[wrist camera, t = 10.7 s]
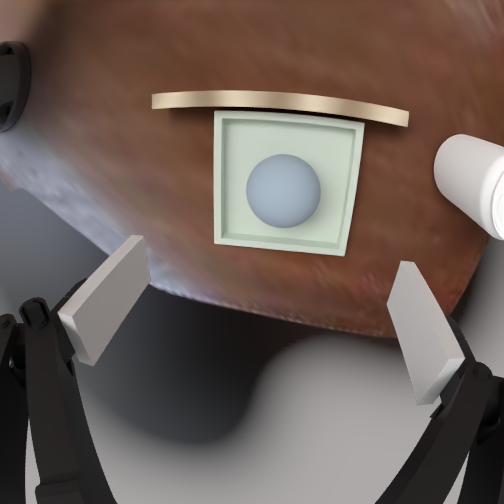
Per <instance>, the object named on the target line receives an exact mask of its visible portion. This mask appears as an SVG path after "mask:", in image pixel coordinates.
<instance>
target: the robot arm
mask: <svg viewBox="0 0 504 504" xmlns="http://www.w3.org/2000/svg"><path fill="white" fill-rule="evenodd" d="M30 75H31V69H30V60H29V55H28V52H27V50H26V48H25V47H24V46H23V45H22V44H21V43H20V42H17V41H5V42H0V132H2V131H5V130H7V129H9V128H10V127H12V126H13V125H14V124H15V122H16V121H17V120H18V118H19V116H20V114H21V112H22V110H23V108H24V105H25V102H26V99H27V96H28V91H29V86H30ZM150 281H151V278H150V272H149V266H148V259H147V252H146V245H145V237H144V236H140V235H131V236H130V237H129V238H128V239H127V240H126V241H125V242H124V243H123V244H122V245H121V246H120V247H119V248H118V249H117V250H116V251H115V252H114V253H113V254H112V255H111V256H110V257H109V258H108V259H107V260H106V261H105V262H104V263H103V264H102V265H101V266H100V267H99V268H98V269H97V270H96V271H95V272H94V273H93V274H92V275H91V276H90V277H89V278H88V279H86V278H85V279H83V280H82V281H80V282H78V283H77V284H75V286H74V287H73V288H72V289H71V290H70V292H68V293H67V294H66V295H65V297H63V298H62V299H61V300H60V302H59V303H58V304H57V305H56V306H55V307H54V308H53V309H52V310H51V312H50V311H49V309H48V306H47V303H46V301H45V300H44V299H43V298H39V297H37V298H32V299H30V300H27V301H26V302H24V303H23V304H22V306H21V307H20V309H19V313H20V315H21V317H22V319H23V322H24V323H23V324H22V323H17V322H16V320H15V317H14V316H13V315H12V314H4V315H1V316H0V504H26V498H25V460H26V441H27V430H28V420H30V427H31V435H32V441H33V447H34V452H35V458H36V463H37V468H38V472H39V476H40V484H39V485H38V486H37V487H36V489H35V495H36V500H37V504H117V502H116V501H115V499H114V497H113V495H112V492H111V490H110V487H109V485H108V483H107V480H106V477H105V475H104V472H103V470H102V467H101V464H100V462H99V458H98V456H97V453H96V450H95V447H94V444H93V440H92V437H91V434H90V431H89V427H88V424H87V420H86V416H85V413H84V409H83V405H82V401H81V397H80V393H79V388H78V383H77V379H76V373H75V368H74V363H73V361H72V359H71V358H72V356H73V355H74V353H76V355H77V357H78V359H79V361H80V362H82V363H85V364H88V365H91V366H94V365H95V363H96V362H97V360H98V358H99V357H100V355H101V354H102V352H103V350H104V349H105V347H106V346H107V344H108V343H109V341H110V339H111V338H112V337H113V335H114V333H115V332H116V330H117V329H118V327H119V326H120V324H121V323H122V321H123V320H124V318H125V317H126V315H127V314H128V312H129V311H130V309H131V308H132V306H133V305H134V303H135V302H136V301H137V299H138V298H139V296H140V295H141V293H142V292H143V290H144V289H145V288H146V286H147V285H148V283H149V282H150ZM387 307H388V310H389V313H390V315H391V318H392V321H393V324H394V327H395V330H396V333H397V336H398V339H399V342H400V346H401V349H402V352H403V355H404V359H405V362H406V365H407V369H408V372H409V376H410V379H411V383H412V386H413V390H414V394H415V398H416V402H417V405H425V404H433V403H434V401H435V400H436V399H437V397H438V396H439V395H440V398H441V401H442V403H441V404H440V405H439V406H438V408H437V409H436V410H435V411H434V412H433V413H432V415H431V416H430V417H431V418H432V419H431V421H430V423H429V425H428V426H427V428H426V430H425V432H424V433H423V435H422V437H421V438H420V440H419V442H418V443H417V445H416V447H415V448H414V450H413V451H412V453H411V455H410V456H409V458H408V459H407V461H406V462H405V464H404V465H403V467H402V468H401V469H400V471H399V472H398V474H397V475H396V477H395V478H394V479H393V481H392V482H391V484H390V485H389V486H388V487H387V489H386V490H385V492H384V493H383V494H382V495H381V496H380V498H379V499H378V500H377V501H376V503H375V504H443V502H444V501H445V499H446V497H447V495H448V494H449V492H450V490H451V488H452V486H453V484H454V482H455V480H456V478H457V476H458V474H459V472H460V470H461V468H462V466H463V463H464V461H465V459H466V457H467V454H468V452H469V456H468V461H467V467H466V471H465V475H464V480H463V484H462V488H461V492H460V495H459V499H458V502H457V504H504V378H502V377H497V376H493V375H492V372H491V370H490V369H489V368H488V367H487V366H486V365H485V364H483V363H481V362H476V360H475V358H474V356H473V354H472V352H471V349H470V347H469V345H468V343H467V341H466V340H465V337H464V335H463V333H461V330H460V328H459V326H458V324H457V323H456V322H455V321H454V320H453V319H452V318H451V317H450V316H444V314H443V312H442V310H441V308H440V306H439V305H438V303H437V301H436V299H435V297H434V296H433V294H432V292H431V290H430V288H429V287H428V285H427V283H426V282H425V280H424V278H423V276H422V275H421V273H420V271H419V270H418V268H417V266H416V265H415V263H414V262H408V261H401V262H400V266H399V269H398V272H397V275H396V278H395V281H394V284H393V287H392V290H391V293H390V296H389V299H388V302H387ZM10 361H11V364H10V366H9V362H10ZM469 450H470V451H469Z"/></svg>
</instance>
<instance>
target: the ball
mask: <svg viewBox="0 0 504 504" xmlns="http://www.w3.org/2000/svg"><path fill="white" fill-rule="evenodd" d="M246 195H247V200H248V204H249V206H250V208H251V210H252V211H253V213H254V214H255V215H256V216H257V217H258V218H259V219H260V220H261V221H262V222H264V223H266V224H268V225H270V226H273V227H277V228H291V227H295V226H298V225H300V224H302V223H303V222H305V221H306V220H308V219H309V218H310V217H311V216H312V215H313V213H314V212H315V210H316V208H317V206H318V204H319V201H320V196H321V188H320V182H319V179H318V176H317V175H316V173H315V171H314V170H313V168H312V167H311V166H310V165H309V164H308V163H307V162H305V161H304V160H302V159H301V158H299V157H296V156H293V155H288V154H278V155H273V156H270V157H268V158H266V159H264V160H262V161H261V162H260V163H258V164H257V165H256V166H255V168H254V169H253V170H252V172H251V174H250V176H249V178H248V181H247V186H246Z"/></svg>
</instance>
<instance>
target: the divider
mask: <svg viewBox="0 0 504 504" xmlns="http://www.w3.org/2000/svg"><path fill="white" fill-rule="evenodd" d="M203 106H235V107H264V108H280V109H293V110H304V111H314V112H323V113H331V114H338V115H345V116H352V117H358V118H364V119H370V120H375V121H381V122H386V123H391V124H395V125H400V126H405V127H407V126H408V117H409V112H408V111H404V110H399V109H395V108H390V107H385V106H380V105H375V104H370V103H364V102H359V101H353V100H346V99H339V98H332V97H324V96H316V95H306V94H295V93H283V92H265V91H191V92H173V93H161V94H152V109H158V108H175V107H203Z"/></svg>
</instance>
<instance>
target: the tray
mask: <svg viewBox="0 0 504 504" xmlns="http://www.w3.org/2000/svg"><path fill="white" fill-rule="evenodd" d="M363 133H364V123H362V122H357V121H351V120H344V119H337V118H329V117H321V116H312V115H303V114H292V113H279V112H262V111H233V110H218V111H214V242H215V244H225V245H235V246H246V247H256V248H267V249H277V250H287V251H298V252H308V253H318V254H328V255H338V256H344V255H345V250H346V245H347V240H348V234H349V229H350V223H351V218H352V212H353V206H354V200H355V194H356V187H357V180H358V173H359V166H360V158H361V150H362V142H363ZM278 154H288V155H293V156H296V157H299V158H301V159H302V160H304V161H305V162H307V163H308V164H309V165H310V166H311V167H312V168H313V170H314V171H315V173H316V175H317V176H318V179H319V182H320V188H321V196H320V201H319V204H318V206H317V208H316V210H315V212H314V213H313V215H312V216H311V217H310V218H309V219H308V220H306V221H305V222H303V223H302V224H300V225H298V226H295V227H291V228H277V227H273V226H270V225H268V224H266V223H264V222H262V221H261V220H260V219H259V218H258V217H257V216H256V215H255V214H254V213H253V211H252V210H251V208H250V206H249V204H248V200H247V195H246V186H247V181H248V178H249V176H250V174H251V172H252V170H253V169H254V168H255V166H256V165H257V164H258V163H260V162H261V161H262V160H264V159H266V158H268V157H270V156H273V155H278Z"/></svg>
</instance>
